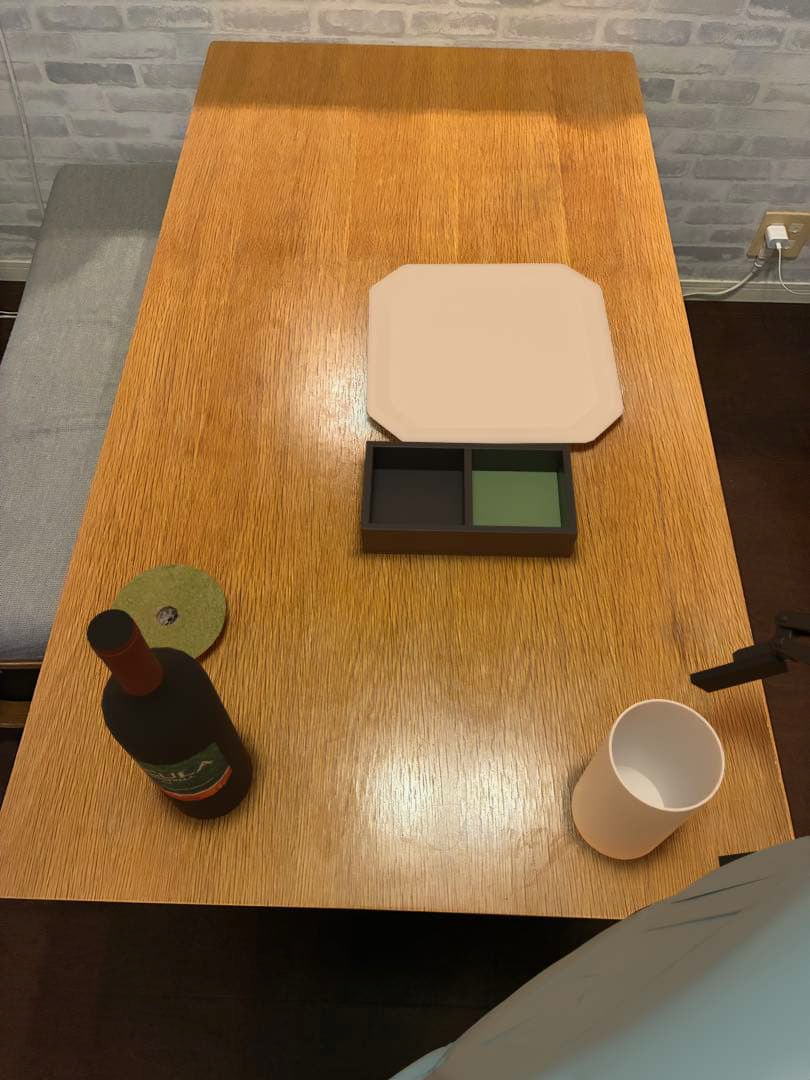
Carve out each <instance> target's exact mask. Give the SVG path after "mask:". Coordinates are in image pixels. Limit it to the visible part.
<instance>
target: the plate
mask: <svg viewBox="0 0 810 1080" xmlns="http://www.w3.org/2000/svg"><path fill="white" fill-rule="evenodd" d="M606 309H607V308H606V303H605V298H604V293H603V289H602V288H601V286H600V285H599V284H598V283H596V282H595V281H593V280H592V279H590V278H588V277H586V276H585V275H583V274H582V273H580V272H578V271H577V270H575V269H573V268H572V267H570V266H568V265H566V264H564V263H560V262H533V263H532V262H530V263H529V262H527V263H526V262H525V263H524V262H523V263H521V262H520V263H517V262H516V263H510V262H509V263H507V262H506V263H407V264H403V265H400V266H399V267H397V268H396V269H395V270H393V271H392V272H390V273H389V274H387V275H386V276H385V277H383V278H381V279H380V280H379V281H377V282H376V283H374V284H373V285H371V287H370V288H369V291H368V321H367V325H368V326H367V364H366V365H367V366H366V369H367V370H366V372H367V373H366V409H365V411H366V413H367V416H368V417H369V418H370V419H371V420H372V421H374V423H376V424H377V425H379V427H381V428H383V429H384V430H385V431H386V432H387V433H389V434H390V435H392V436H393V437H394V438H395V439H397V441H405V442H454V443H503V444H553V445H570V446H571V445H572V446H573V445H575V446H576V445H577V446H578V445H587V444H590V443H593V442H595V440H597V439H598V438H599V437H600V436H601V435H602V434H604V432H605V431H606V430H607V429H608V428H610V427H611V426H612V425H613V424H614V423H615V422H616V421H617V420H619V419H620V418H621V417H622V416H623V413H624V410H625V408H624V401H623V396H622V390H621V386H620V380H619V373H618V368H617V363H616V357H615V352H614V348H613V342H612V335H611V331H610V326H609V320H608V314H607V310H606Z"/></svg>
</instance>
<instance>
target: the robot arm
mask: <svg viewBox="0 0 810 1080" xmlns="http://www.w3.org/2000/svg"><path fill="white" fill-rule="evenodd" d="M773 617H774V618H773V620H774V623H775V624H776V625H775V632H774V634H773V636H772V638H770V639H768V640H765V641H762V642H759V643H755V644H751V645H748V646H746V647H741V648H738V649H737V650H735V651H734V652H732V653H731V657H732V660H733V661H732V662H728V663H725V664H721V665H717V666H714V667H710V668H707V669H703V670H700V671H696V672H693V673H689V679H690V684H692V685H693V686H695V687H697V688H699V689H700V690H702V691H704V692H706V693H707V694H710V693H714V692H718V691H722V690H725V689H729V688H733V687H738V686H741V685H745V684H748V683H749V684H750V683H752V682H756V681H761V680H765V679H767V678H771V677H775V676H779V675H783V674H786V673H789V671H790V670H789V668H788V663H787V661H786V660H788V661H790V662H792V663H795V664H797V665H800V666H802V667H804V668H806V669H809V670H810V646H809V645H806V644H804V643H801V642H800V641H801V640H800V639H801V638H804V639H810V613H808V612H807V613H806V612H800V611H792V610H786V609H785V610H784V609H783V610H779V611H777V612H776V613H775V614H774V616H773ZM717 858H718V859H717V860H718V866H719V867H717V868H715V869H712V870H711V871H709V872H707V873H706V874H704V875H703V876H701V877H700V878H698V879H696V880H695V881H694V882H692V883H691V884H689V885H688V886H687V887H686V888H684V889H682V890H681V891H679V892H678V893H676V894H674V895H671V896H668V897H665V898H663V899H659V900H657V901H655V902H653V903H650V904H649V905H647V906H644V907H641V908H640V909H637V910H636V911H634V912H632V913H631V914H629V915H628V916H626V917H624V918H623V919H621V920H619V921H618V922H616V923H614V924H613V925H611V926H609V927H608V928H605V929H604V930H602V931H601V932H599V933H598V934H596V935H595V936H593V937H592V938H589V939H588V940H586V941H585V942H584V943H583V944H581V945H580V946H578V947H577V948H575V949H574V950H573V951H572V952H570V953H569V954H567V955H566V956H564V957H562V958H560V959H559V960H557V961H555V962H554V963H552V964H551V965H549V966H548V967H546V969H543V970H542V971H541V972H539V973H538V974H537V975H535V976H534V977H532V978H531V979H530V980H528V981H527V982H526V983H525V984H523V985H522V986H521V987H519V988H518V989H517V990H516V991H514V992H513V993H512V994H511V995H510V996H508V997H507V998H506V999H505V1000H503V1001H502V1002H500V1003H499V1004H497V1005H496V1006H494V1007H493V1008H492V1009H490V1011H489V1010H488V1012H487V1013H485V1014H484V1016H482V1017H481V1018H480V1019H479V1020H478V1021H477V1022H475V1023H474V1024H473V1025H472V1026H470V1028H468V1029H467V1030H466V1031H465V1032H463V1033H462V1035H460V1036H459V1037H458V1038H457V1039H456V1040H455V1041H452V1042H450V1043H448V1044H446V1045H445V1046H442V1047H439V1048H436V1049H434V1050H432V1051H430V1052H429V1053H426V1054H425V1055H423V1056H422V1057H419V1058H418V1059H417V1060H415V1061H414V1062H412V1063H410V1064H409V1065H408V1066H406V1067H404V1068H403V1069H402V1070H400V1071H399V1072H397V1073H396V1074H394V1075H393V1076H392V1077H390V1078H389V1079H388V1080H810V835H806V836H801V837H797V838H794V839H791V840H787V841H783V842H780V843H778V844H774V845H772V846H768V847H766V848H763V849H760V850H754V851H747V852H739V853H732V854H725V855H718V856H717Z"/></svg>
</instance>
